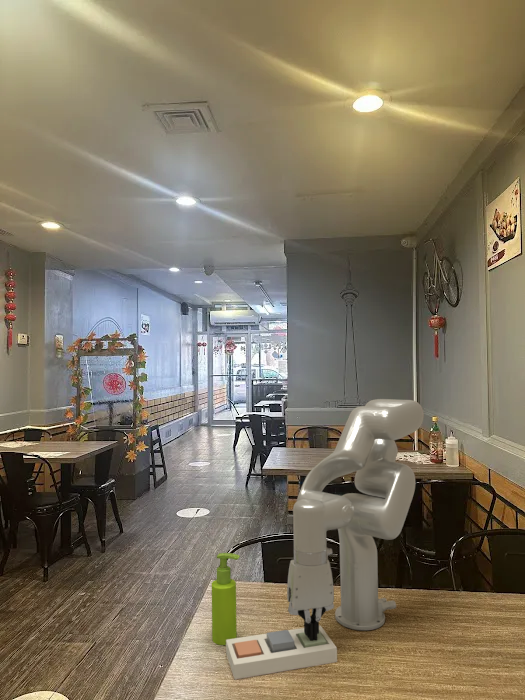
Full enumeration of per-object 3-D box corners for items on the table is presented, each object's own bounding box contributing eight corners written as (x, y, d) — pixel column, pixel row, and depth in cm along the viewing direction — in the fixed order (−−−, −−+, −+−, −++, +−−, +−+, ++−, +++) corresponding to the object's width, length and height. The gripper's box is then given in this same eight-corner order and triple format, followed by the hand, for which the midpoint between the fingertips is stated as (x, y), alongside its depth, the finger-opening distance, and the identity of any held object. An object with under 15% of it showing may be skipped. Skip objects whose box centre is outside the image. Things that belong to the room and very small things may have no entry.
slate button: (287, 638, 114) (287, 629, 114) (294, 650, 109) (294, 641, 110) (266, 641, 113) (266, 632, 113) (272, 653, 108) (272, 644, 108)
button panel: (320, 638, 119) (320, 625, 119) (337, 661, 109) (336, 647, 109) (226, 653, 113) (225, 639, 113) (234, 679, 103) (234, 664, 104)
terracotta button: (256, 648, 112) (256, 639, 112) (261, 661, 108) (261, 651, 108) (234, 652, 111) (234, 643, 111) (238, 664, 106) (238, 655, 106)
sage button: (318, 638, 116) (318, 630, 116) (326, 650, 111) (326, 641, 111) (298, 642, 115) (298, 633, 115) (305, 653, 110) (305, 644, 110)
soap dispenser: (237, 646, 116) (236, 559, 116) (209, 644, 117) (208, 557, 118) (243, 633, 121) (242, 550, 122) (216, 631, 123) (215, 549, 124)
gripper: (334, 546, 119) (335, 624, 119) (274, 553, 116) (275, 633, 115) (347, 558, 112) (348, 641, 111) (283, 565, 108) (285, 651, 108)
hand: (311, 637), depth 113 cm, fingers closed
